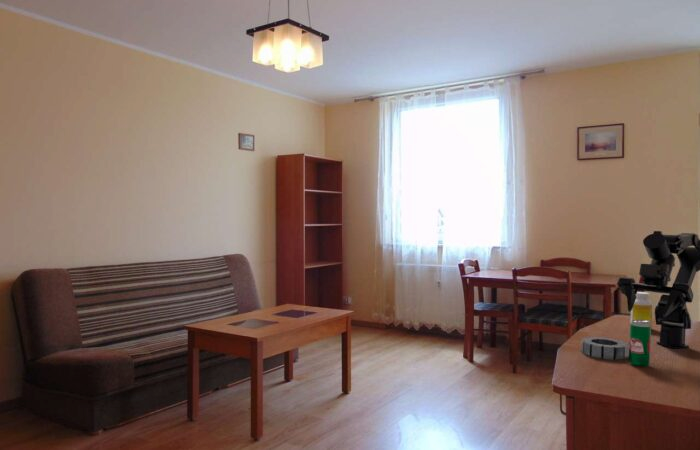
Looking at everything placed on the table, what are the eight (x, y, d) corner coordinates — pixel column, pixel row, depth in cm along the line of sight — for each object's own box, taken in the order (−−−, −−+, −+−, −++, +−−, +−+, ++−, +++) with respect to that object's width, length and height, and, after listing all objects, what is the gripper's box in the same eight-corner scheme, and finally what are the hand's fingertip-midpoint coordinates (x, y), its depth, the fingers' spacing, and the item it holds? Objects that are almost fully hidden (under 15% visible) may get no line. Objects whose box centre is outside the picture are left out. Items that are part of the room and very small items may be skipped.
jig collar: (606, 347, 160) (606, 336, 160) (636, 358, 149) (637, 346, 149) (572, 349, 157) (573, 338, 157) (601, 360, 146) (601, 348, 146)
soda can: (624, 363, 144) (625, 320, 143) (636, 361, 146) (638, 318, 145) (641, 368, 139) (642, 324, 139) (654, 366, 141) (655, 322, 141)
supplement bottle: (654, 330, 185) (655, 294, 184) (633, 329, 186) (634, 293, 185) (647, 326, 191) (648, 291, 191) (627, 325, 192) (628, 290, 192)
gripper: (619, 250, 157) (603, 292, 151) (690, 255, 143) (676, 302, 137) (629, 272, 163) (615, 314, 157) (699, 279, 149) (686, 325, 143)
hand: (646, 313), depth 148 cm, fingers open, 9 cm apart
